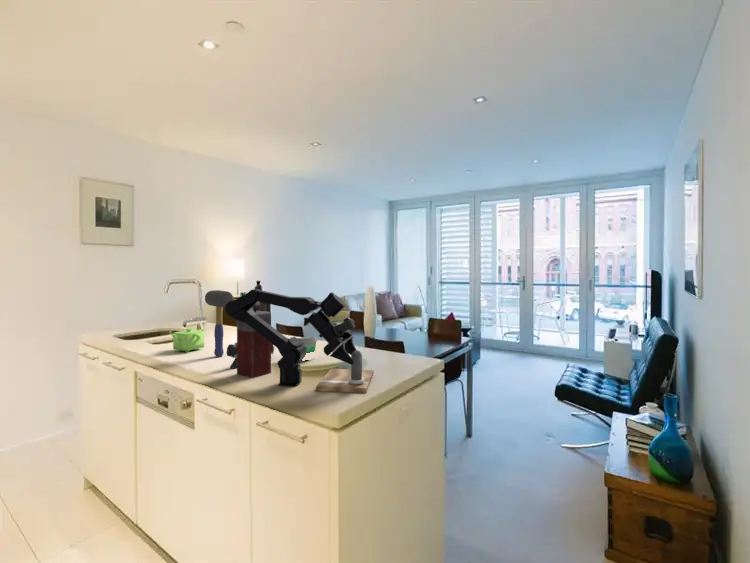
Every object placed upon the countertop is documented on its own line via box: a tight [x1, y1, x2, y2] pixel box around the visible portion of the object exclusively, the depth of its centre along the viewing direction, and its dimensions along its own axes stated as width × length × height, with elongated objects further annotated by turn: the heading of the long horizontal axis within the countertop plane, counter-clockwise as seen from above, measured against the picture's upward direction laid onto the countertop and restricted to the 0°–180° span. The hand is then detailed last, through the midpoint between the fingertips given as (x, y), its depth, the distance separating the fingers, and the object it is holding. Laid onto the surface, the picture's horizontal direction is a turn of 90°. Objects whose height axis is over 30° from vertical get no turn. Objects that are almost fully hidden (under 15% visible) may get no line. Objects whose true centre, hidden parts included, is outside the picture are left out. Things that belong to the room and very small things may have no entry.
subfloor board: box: [315, 368, 375, 394], centre depth 137 cm, size 16×23×2 cm
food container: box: [290, 336, 318, 353], centre depth 170 cm, size 12×6×10 cm, turn 105°
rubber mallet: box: [204, 289, 234, 358], centre depth 176 cm, size 12×8×30 cm, turn 55°
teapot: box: [169, 328, 207, 353], centre depth 189 cm, size 15×13×11 cm
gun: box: [226, 342, 275, 369], centre depth 163 cm, size 2×25×10 cm, turn 151°
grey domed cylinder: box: [349, 349, 364, 385], centre depth 131 cm, size 5×5×11 cm
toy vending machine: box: [236, 302, 274, 379], centre depth 148 cm, size 9×11×28 cm
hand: (356, 360), depth 131 cm, fingers open, 9 cm apart
